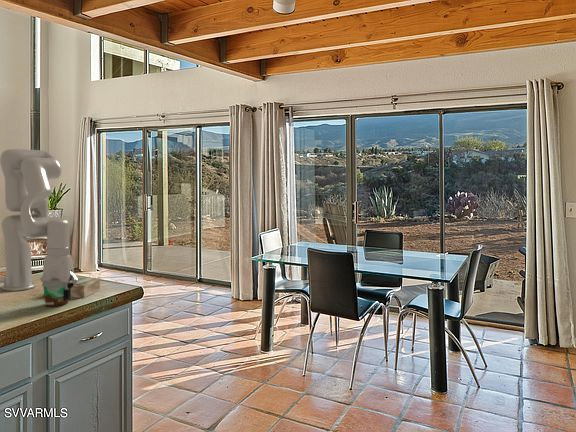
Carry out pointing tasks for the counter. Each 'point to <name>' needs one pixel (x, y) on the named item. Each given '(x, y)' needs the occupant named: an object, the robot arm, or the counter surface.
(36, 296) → the counter surface
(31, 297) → the counter surface
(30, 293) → the counter surface
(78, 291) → the birch stand
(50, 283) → the food container
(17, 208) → the robot arm
